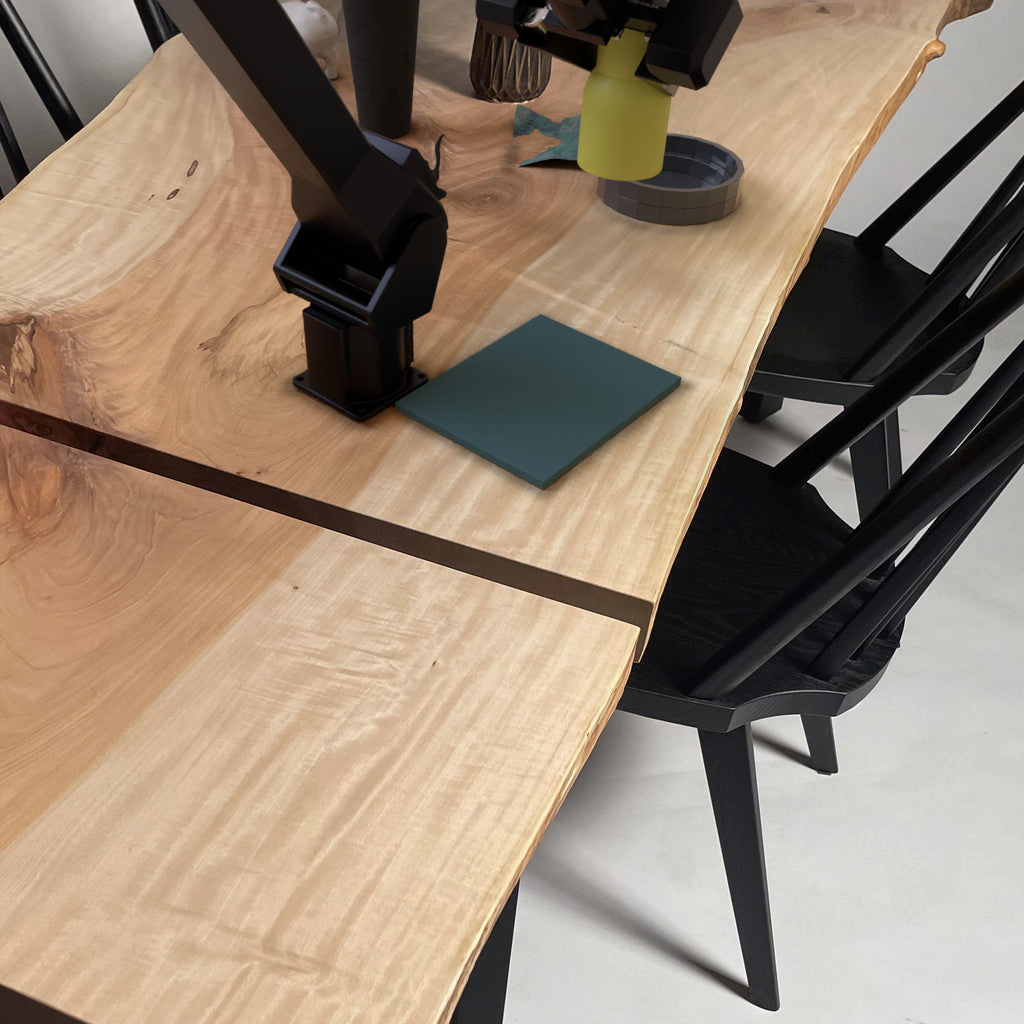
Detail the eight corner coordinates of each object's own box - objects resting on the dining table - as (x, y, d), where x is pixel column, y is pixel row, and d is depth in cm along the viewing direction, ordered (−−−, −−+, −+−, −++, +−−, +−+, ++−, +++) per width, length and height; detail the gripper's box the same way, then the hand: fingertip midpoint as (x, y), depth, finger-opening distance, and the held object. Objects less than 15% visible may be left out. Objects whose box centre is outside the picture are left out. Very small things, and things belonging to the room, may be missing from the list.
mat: (542, 490, 65) (543, 482, 64) (394, 409, 70) (394, 402, 70) (680, 384, 74) (682, 377, 73) (540, 320, 79) (540, 313, 79)
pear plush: (630, 188, 82) (655, -20, 73) (559, 163, 85) (575, -39, 76) (678, 164, 86) (707, -35, 77) (609, 142, 89) (630, -53, 80)
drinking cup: (332, 138, 102) (316, -103, 89) (360, 109, 108) (349, -121, 95) (411, 149, 101) (406, -93, 88) (435, 119, 107) (434, -113, 94)
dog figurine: (266, 50, 120) (255, -57, 113) (349, 79, 114) (343, -32, 107) (227, 61, 117) (214, -48, 110) (311, 92, 111) (302, -22, 104)
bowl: (688, 246, 89) (694, 205, 87) (567, 199, 95) (571, 160, 92) (762, 199, 96) (770, 160, 94) (647, 158, 102) (651, 121, 100)
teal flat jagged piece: (593, 176, 98) (594, 155, 97) (506, 173, 98) (506, 153, 97) (596, 122, 108) (596, 103, 106) (516, 120, 108) (516, 101, 107)
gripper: (757, -155, 64) (802, 11, 78) (506, -194, 73) (586, -39, 86) (668, 14, 64) (729, 150, 78) (427, -45, 73) (520, 87, 86)
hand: (638, 80), depth 82 cm, fingers closed on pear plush, 6 cm apart
